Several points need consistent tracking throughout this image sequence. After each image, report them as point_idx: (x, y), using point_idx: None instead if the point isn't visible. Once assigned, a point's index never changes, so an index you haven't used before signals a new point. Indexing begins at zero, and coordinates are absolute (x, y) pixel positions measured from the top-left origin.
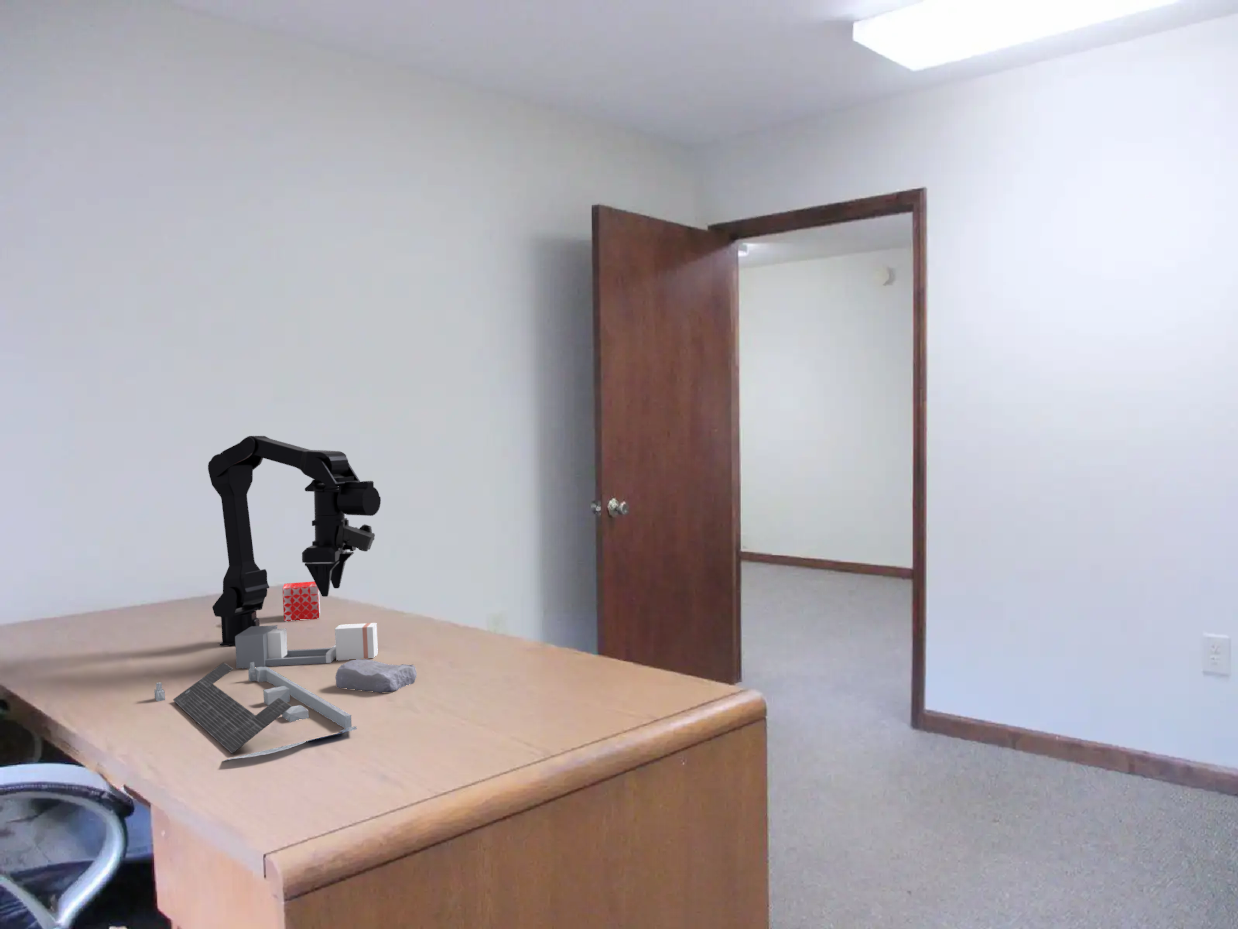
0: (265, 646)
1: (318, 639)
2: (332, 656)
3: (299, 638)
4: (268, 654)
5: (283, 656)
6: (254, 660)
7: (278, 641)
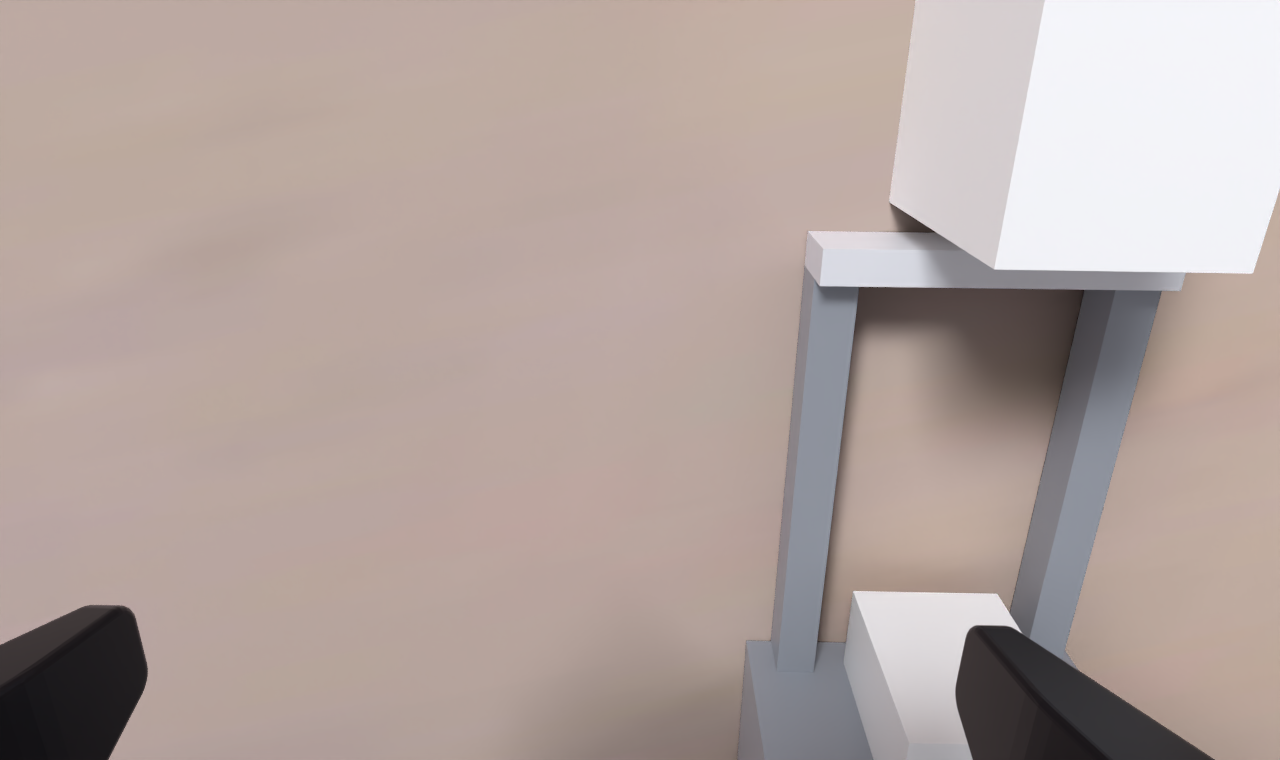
0: None
1: (241, 504)
2: None
3: (200, 634)
4: None
5: (950, 597)
6: None
7: None
